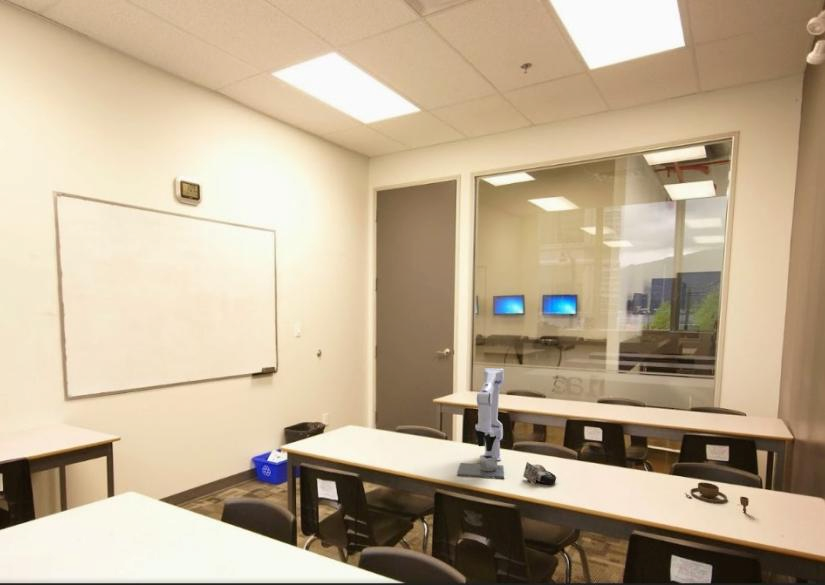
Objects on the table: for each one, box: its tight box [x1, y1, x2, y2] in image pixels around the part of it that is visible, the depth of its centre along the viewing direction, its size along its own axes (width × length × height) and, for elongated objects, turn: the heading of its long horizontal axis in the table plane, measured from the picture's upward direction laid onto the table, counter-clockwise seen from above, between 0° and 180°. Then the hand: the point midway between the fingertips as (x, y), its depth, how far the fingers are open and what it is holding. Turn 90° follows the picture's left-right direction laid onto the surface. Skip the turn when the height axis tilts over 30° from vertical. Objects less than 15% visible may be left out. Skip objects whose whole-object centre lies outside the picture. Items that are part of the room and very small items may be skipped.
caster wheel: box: [522, 461, 557, 486], centre depth 190 cm, size 7×11×10 cm
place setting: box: [684, 481, 750, 514], centre depth 170 cm, size 18×20×6 cm
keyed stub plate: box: [457, 462, 505, 479], centre depth 201 cm, size 14×20×4 cm
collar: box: [479, 454, 498, 471], centre depth 202 cm, size 6×6×5 cm
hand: (484, 448), depth 204 cm, fingers open, 7 cm apart
